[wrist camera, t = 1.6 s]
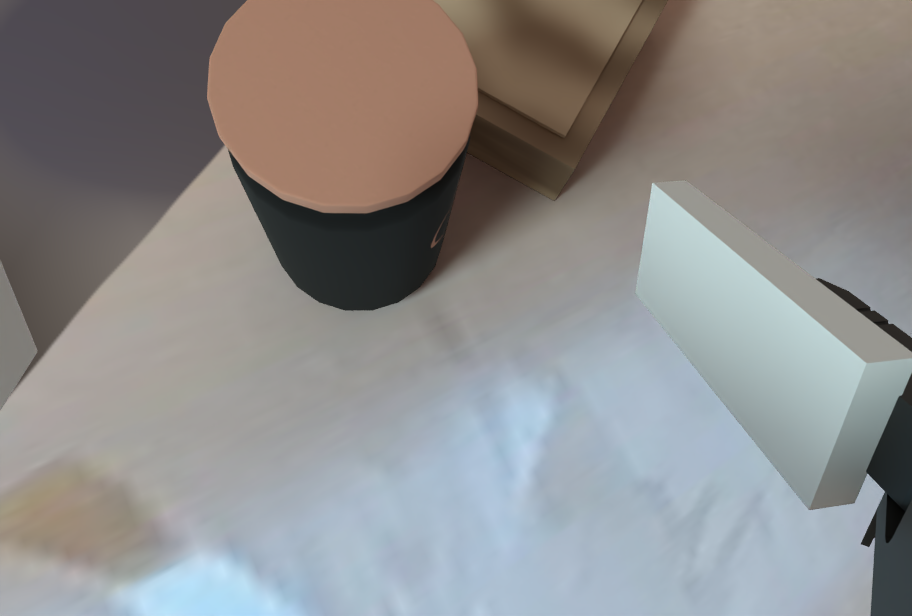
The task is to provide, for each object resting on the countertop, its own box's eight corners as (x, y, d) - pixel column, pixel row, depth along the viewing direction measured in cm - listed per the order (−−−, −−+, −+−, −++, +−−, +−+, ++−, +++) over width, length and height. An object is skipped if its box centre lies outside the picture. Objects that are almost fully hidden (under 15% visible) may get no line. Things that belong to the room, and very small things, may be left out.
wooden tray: (462, -72, 50) (471, -134, 45) (648, 30, 50) (679, -20, 45) (352, 88, 46) (348, 40, 41) (554, 201, 46) (576, 166, 40)
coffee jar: (454, 301, 43) (504, 188, 26) (288, 328, 42) (220, 226, 24) (426, 152, 45) (453, -45, 28) (266, 171, 44) (191, -24, 26)
